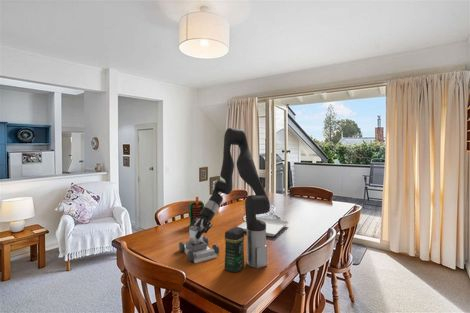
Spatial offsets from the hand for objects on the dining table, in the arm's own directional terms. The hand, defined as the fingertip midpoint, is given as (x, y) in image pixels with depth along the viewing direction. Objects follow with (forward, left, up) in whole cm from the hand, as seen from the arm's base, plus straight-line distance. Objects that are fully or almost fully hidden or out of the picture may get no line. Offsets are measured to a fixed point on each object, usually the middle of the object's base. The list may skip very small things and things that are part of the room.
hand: (193, 237), depth 135 cm
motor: (+39, -19, -8) cm, 44 cm away
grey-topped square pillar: (+1, -2, -5) cm, 5 cm away
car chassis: (-3, -2, -8) cm, 9 cm away
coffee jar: (-27, -10, -8) cm, 29 cm away
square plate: (+8, -54, -9) cm, 55 cm away
